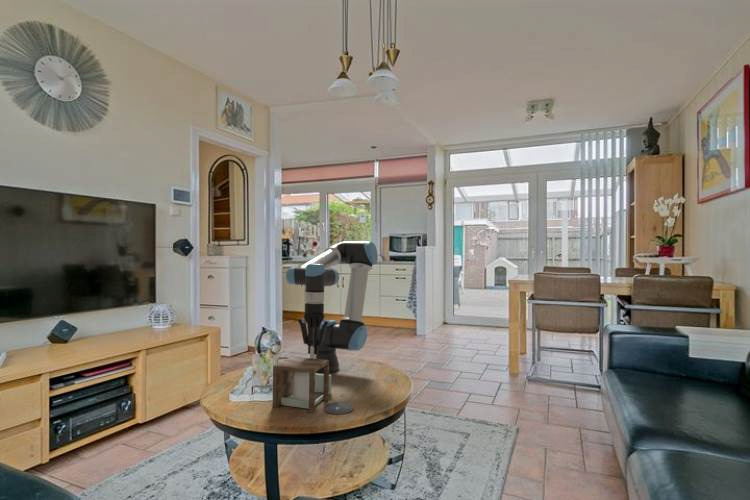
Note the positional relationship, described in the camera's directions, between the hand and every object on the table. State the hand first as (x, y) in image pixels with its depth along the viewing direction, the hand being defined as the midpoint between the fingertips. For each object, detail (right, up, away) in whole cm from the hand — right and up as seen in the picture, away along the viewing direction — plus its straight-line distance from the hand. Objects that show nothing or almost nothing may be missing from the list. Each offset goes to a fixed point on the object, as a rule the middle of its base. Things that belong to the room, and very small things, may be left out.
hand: (313, 362), depth 164 cm
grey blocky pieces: (-1, -13, -4) cm, 13 cm away
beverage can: (-2, -13, -7) cm, 15 cm away
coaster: (+11, -13, -14) cm, 22 cm away
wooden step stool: (-3, -13, -8) cm, 16 cm away
